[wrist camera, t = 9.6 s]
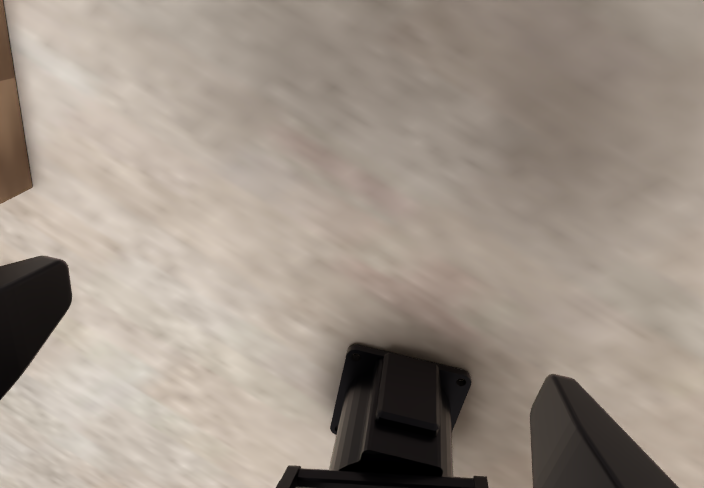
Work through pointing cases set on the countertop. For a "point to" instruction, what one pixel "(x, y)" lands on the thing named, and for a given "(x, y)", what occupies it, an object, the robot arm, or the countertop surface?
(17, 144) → the brown slotted board
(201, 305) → the countertop surface
